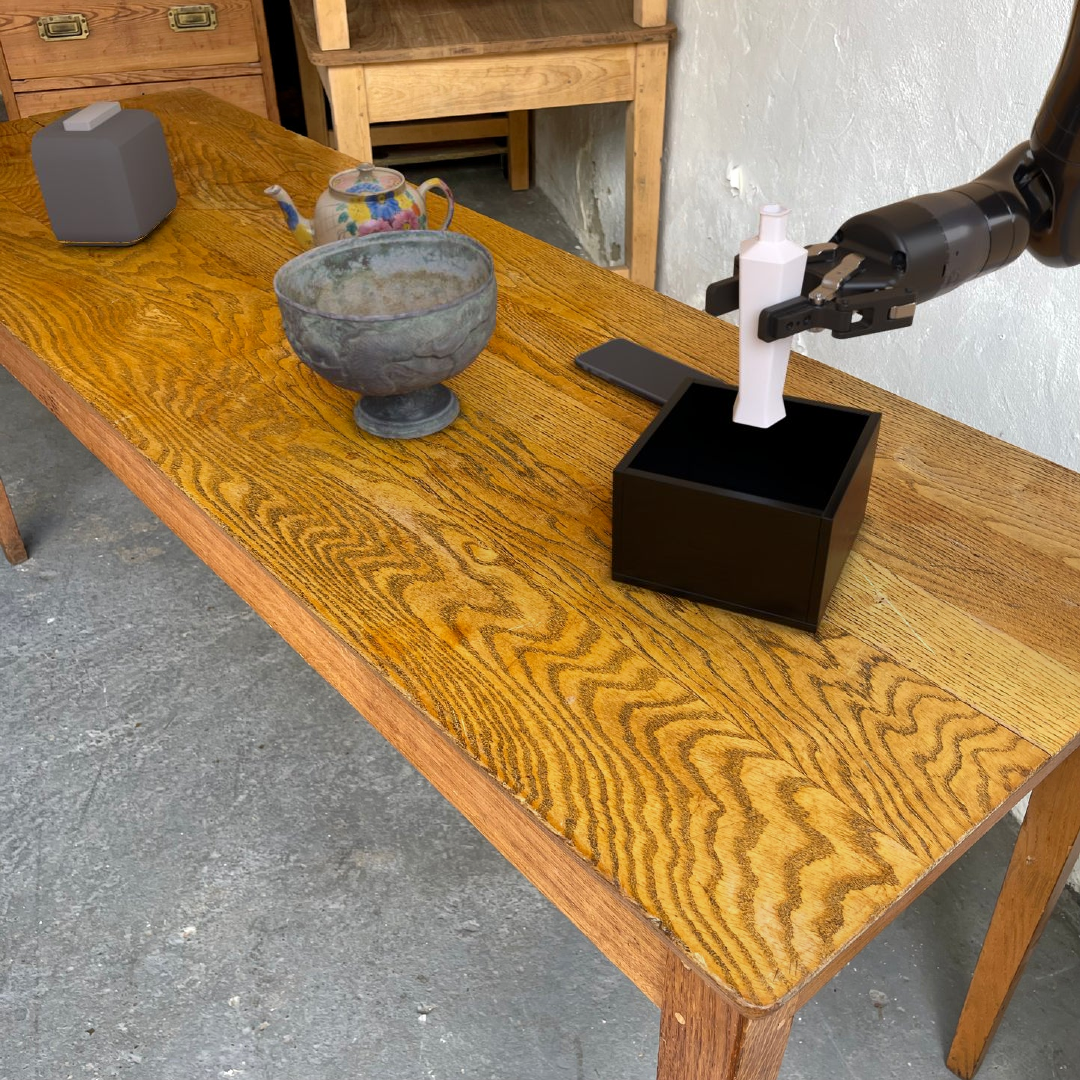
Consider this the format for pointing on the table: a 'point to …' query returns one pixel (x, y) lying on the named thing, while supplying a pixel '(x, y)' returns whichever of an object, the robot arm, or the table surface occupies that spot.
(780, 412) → the perfume bottle
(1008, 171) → the robot arm
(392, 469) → the table surface
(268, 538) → the table surface
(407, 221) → the teapot
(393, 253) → the bowl
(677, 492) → the open box
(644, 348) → the smartphone
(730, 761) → the table surface
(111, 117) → the alarm clock
